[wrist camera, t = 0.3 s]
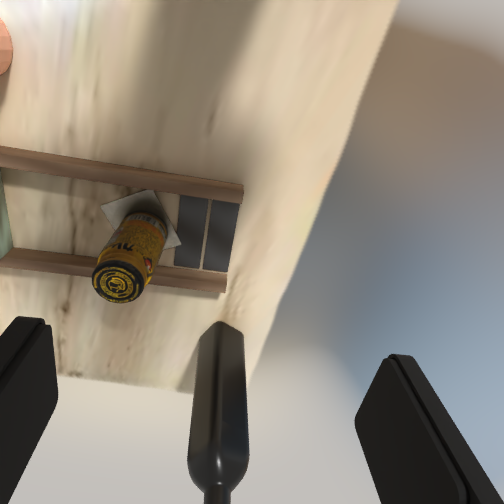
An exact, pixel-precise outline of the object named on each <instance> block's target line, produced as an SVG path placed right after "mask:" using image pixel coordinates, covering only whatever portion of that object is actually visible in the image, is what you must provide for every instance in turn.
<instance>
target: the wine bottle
mask: <svg viewBox="0 0 504 504" xmlns="http://www.w3.org/2000/svg"><path fill="white" fill-rule="evenodd" d="M248 435H249V434H248V413H247V393H246V372H245V352H244V335H243V334H242V333H241V332H240V331H238V330H236V329H235V328H233V327H231V326H229V325H228V324H226V323H224V322H221V321H218V322H216V323H214V324H213V325H212V326H211V327H210V328H209V329H208V330H207V331H206V332H205V333H204V334H203V335H202V336H201V338H200V340H199V349H198V359H197V368H196V378H195V388H194V398H193V407H192V417H191V427H190V437H189V446H188V456H187V462H188V469H189V474H190V476H191V479H192V481H193V482H194V484H195V485H196V486H197V487H198V488H199V489H200V490H201V491H202V492H203V493H204V504H230V502H231V501H230V500H231V497H230V495H231V492H232V491H233V490H234V489H235V487H236V486H237V485H238V484H239V482H240V481H241V480H242V479H243V477H244V475H245V473H246V471H247V467H248V462H249V455H250V454H249V436H248Z"/></svg>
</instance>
